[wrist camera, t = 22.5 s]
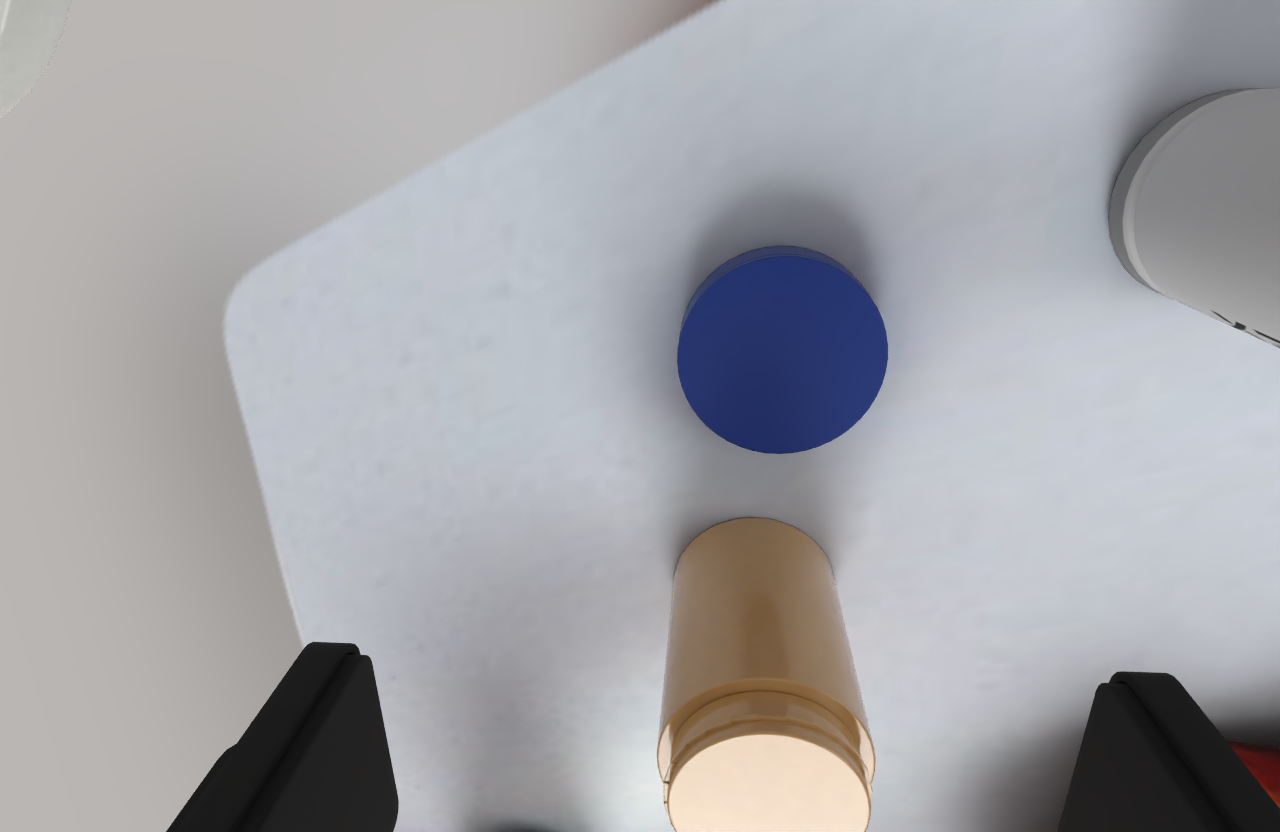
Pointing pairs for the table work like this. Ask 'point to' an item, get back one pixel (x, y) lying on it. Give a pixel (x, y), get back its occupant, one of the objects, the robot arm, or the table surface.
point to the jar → (761, 689)
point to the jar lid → (781, 350)
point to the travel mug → (1208, 209)
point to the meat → (1262, 765)
